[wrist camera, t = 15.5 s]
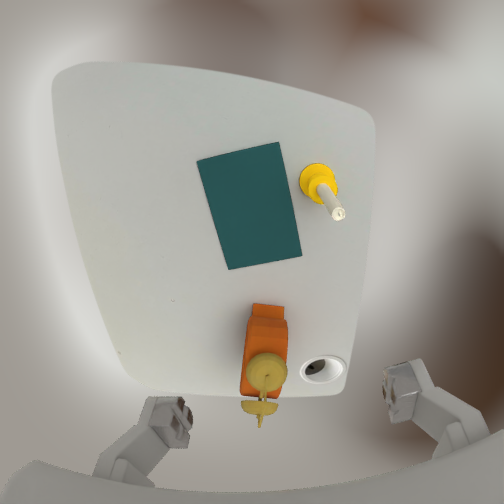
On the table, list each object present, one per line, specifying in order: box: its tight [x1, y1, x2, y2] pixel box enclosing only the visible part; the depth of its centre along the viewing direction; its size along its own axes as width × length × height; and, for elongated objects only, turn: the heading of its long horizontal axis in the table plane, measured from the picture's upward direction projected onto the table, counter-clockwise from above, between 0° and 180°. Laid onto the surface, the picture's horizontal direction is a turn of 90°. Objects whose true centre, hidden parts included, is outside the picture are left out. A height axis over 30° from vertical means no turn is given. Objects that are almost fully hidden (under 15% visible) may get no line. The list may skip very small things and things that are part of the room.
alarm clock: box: [240, 303, 288, 428], centre depth 47 cm, size 13×6×20 cm, turn 174°
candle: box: [299, 163, 345, 221], centre depth 37 cm, size 5×5×16 cm
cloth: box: [197, 142, 302, 270], centre depth 47 cm, size 18×12×1 cm, turn 13°
